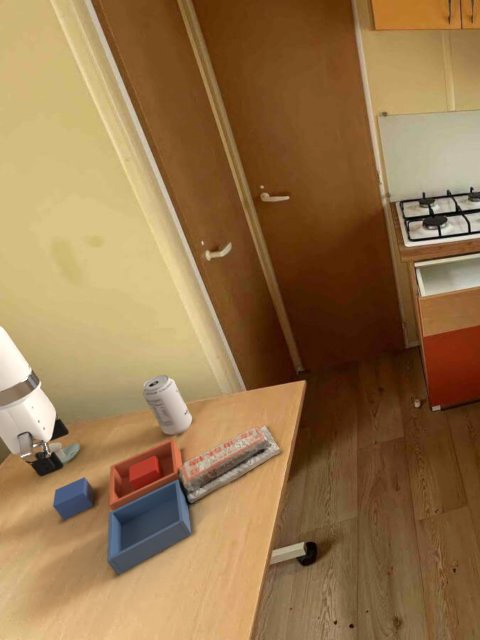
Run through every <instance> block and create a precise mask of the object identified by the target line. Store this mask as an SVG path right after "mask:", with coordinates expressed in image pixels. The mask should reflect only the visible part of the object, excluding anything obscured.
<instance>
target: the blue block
mask: <svg viewBox="0 0 480 640" xmlns="http://www.w3.org/2000/svg"><path fill="white" fill-rule="evenodd" d="M94 498H95V490H94V488H93V486H92V485H91V483H90V482H89V481H88V479H87V478H86V477H85V476H84V477H81V478H78V479H77V480H75V481H72V482H70V483H67V484H66V485H63V486H61V487H59V488H56V489H55V491H54V497H53V505H52V507H53V509H54V510H55V511H56V512H57V513H58V514H59V515H60V517H61V518H62V520H67V519H68V518H71V517H73V516H76V515H77V514H79V513H82V512H83V511H86V510H88V509H90V508H92V507H94V501H95V499H94Z"/></svg>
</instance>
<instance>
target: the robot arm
mask: <svg viewBox="0 0 480 640" xmlns="http://www.w3.org/2000/svg"><path fill="white" fill-rule="evenodd" d="M41 387H42V381H41V380H40V379H39V377H38V376H37V375H36V373H35V371H34V370H33V369H32V367H31V366H30V364H29V363H28V361H27V360H26V358H25V357H24V355H23V354H22V352H21V351H20V350H19V348H18V347H17V346H16V344H15V343H14V341H13V339H12V338H11V336H10V335H9V334H8V332H7V331H6V330H5V329H4V328H3V326H1V325H0V438H1V440H2V442H3V443H4V444H5V445H6V447H7V449H8V450H9V451H10V452H11V454H13V455H20V458H21V460H23V461H24V462H25V463H27V464H28V465H29V466H31V468H32V469H33V470H34V471H35V472H36V474H37V475H38V477H45V476H47V475H50V474H52V473H55V472H57V471H59V470H62V469H63V468H64V464H63V463H62V461H61V460H60V459H59V457H58V456H57V455H56V453H55V452H51V451H50V448H49V443H50V442H52V441H55V440H57V439H60V438H62V437H65V436H67V435H69V433H70V430H69V429H68V427H67V426H66V425H65V423H64V422H63V421H62V419H61V418H60V417H59V414H58V413H57V412H56V408H55V406H54V404H53V403H52V401H51V400H50V398H48V396H47V394H46V393H45V392H44V391H43V389H41ZM34 441H38V442H36V443H34ZM40 446H41V448H42V450H43V452H42V451H38V452H37V451H36V450H35V449H36V448H38V447H40Z"/></svg>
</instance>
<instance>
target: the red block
mask: <svg viewBox="0 0 480 640" xmlns="http://www.w3.org/2000/svg"><path fill="white" fill-rule="evenodd" d="M161 478H164V476H163V468H162V466H161V464H160V463H159V461H158V459H157V457H156V456H152V457H150V458H148V459H146V460H143V461H141V462H139V463H137V464H134V465H132V466H130V467H129V482H130V483H131V485H132V486H133V488H134V489H135V491H136V490H138V489H140V488H143V487H145V486H147V485H149V484H151V483H153V482H155V481H157V480H159V479H161Z"/></svg>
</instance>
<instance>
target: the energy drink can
mask: <svg viewBox="0 0 480 640" xmlns="http://www.w3.org/2000/svg"><path fill="white" fill-rule="evenodd" d="M142 388H143V391H142V395H143V397H144V399H145V402H146V403H147V405H148V406H149V409H150V410H151V412H152V414H153V415H154V417H155V420H156V421H157V423H158V425H159V427H160V428H161V430H162V433H164V434H166V435H169V436H174V435H175V436H176V435H178V434H181V433H183V432H185V431H186V430H187V429H189V428H190V426H191V423H192V421H193V417H192V414H191V413H190V410H189V408H188V406H187V404H186V402H185V400H184V399H183V397H182V394H181V393H180V390H179V389H178V386H177V384H176V382H175V380H174V379H172V378H170V377H169V376H168V375H167V374H161V375H160V374H159V375H156V376H154V377H152V378H150V379H148V380H147V381H145V382H144V384H143V385H142Z"/></svg>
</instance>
